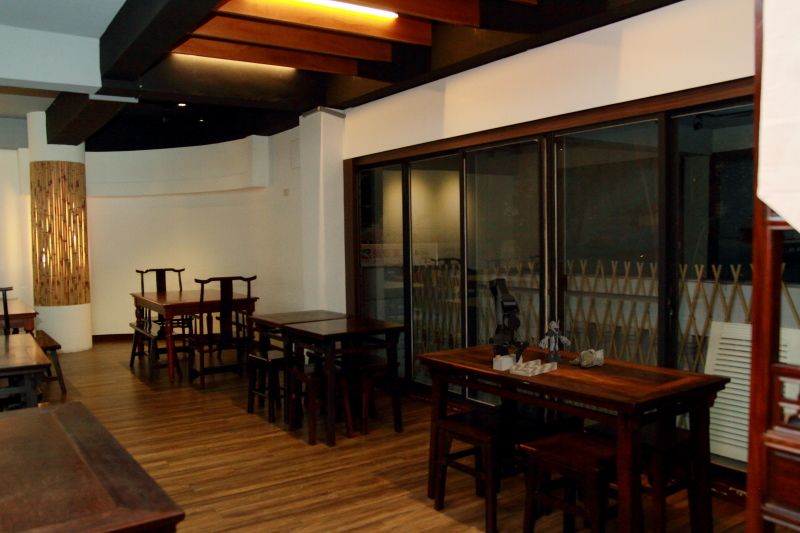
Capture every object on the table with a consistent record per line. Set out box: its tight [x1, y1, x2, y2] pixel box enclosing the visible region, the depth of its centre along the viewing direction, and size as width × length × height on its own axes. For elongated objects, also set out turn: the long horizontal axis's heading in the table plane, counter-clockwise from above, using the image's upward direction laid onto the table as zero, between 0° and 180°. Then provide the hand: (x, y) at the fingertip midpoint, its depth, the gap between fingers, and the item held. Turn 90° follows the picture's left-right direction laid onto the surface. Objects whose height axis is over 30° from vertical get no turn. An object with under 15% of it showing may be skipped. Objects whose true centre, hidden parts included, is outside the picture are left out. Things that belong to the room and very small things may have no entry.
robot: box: [537, 318, 572, 364], centre depth 294 cm, size 20×5×20 cm, turn 122°
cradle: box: [509, 359, 558, 377], centre depth 275 cm, size 20×10×3 cm, turn 132°
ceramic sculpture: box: [568, 347, 605, 368], centre depth 283 cm, size 11×9×15 cm
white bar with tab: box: [492, 353, 524, 372], centre depth 285 cm, size 17×5×6 cm, turn 132°
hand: (508, 361), depth 285 cm, fingers open, 9 cm apart
